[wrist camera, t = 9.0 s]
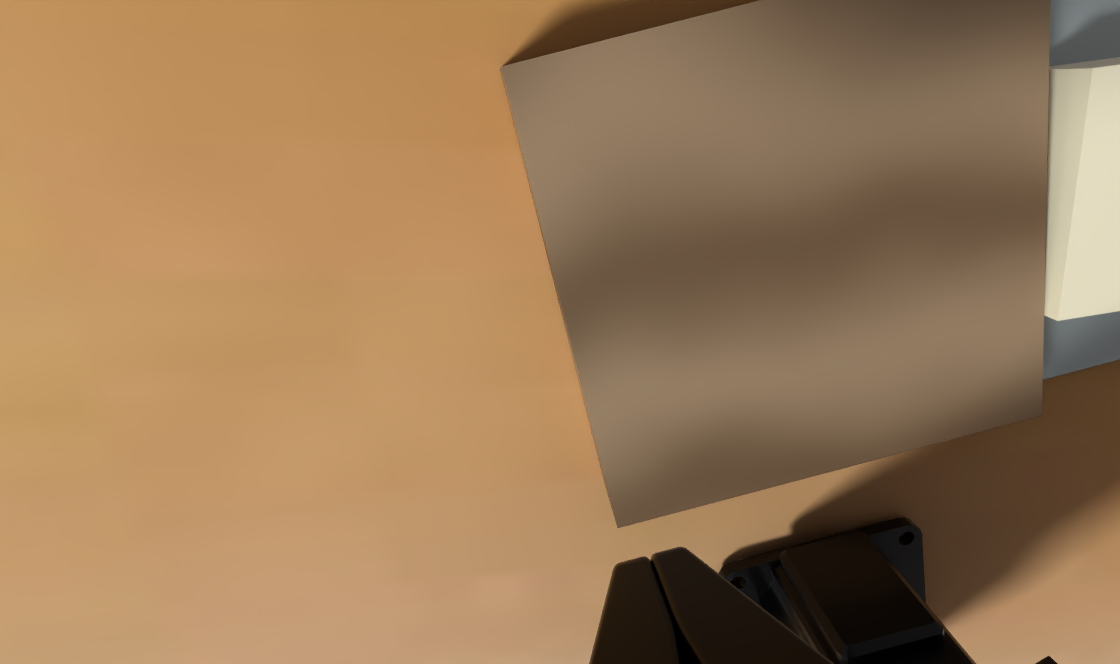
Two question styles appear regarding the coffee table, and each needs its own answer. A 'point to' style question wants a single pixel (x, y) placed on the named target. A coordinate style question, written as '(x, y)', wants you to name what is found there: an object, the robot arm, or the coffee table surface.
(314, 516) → the coffee table surface
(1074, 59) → the mat
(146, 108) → the coffee table surface
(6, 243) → the coffee table surface
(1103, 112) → the tile
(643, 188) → the plate
